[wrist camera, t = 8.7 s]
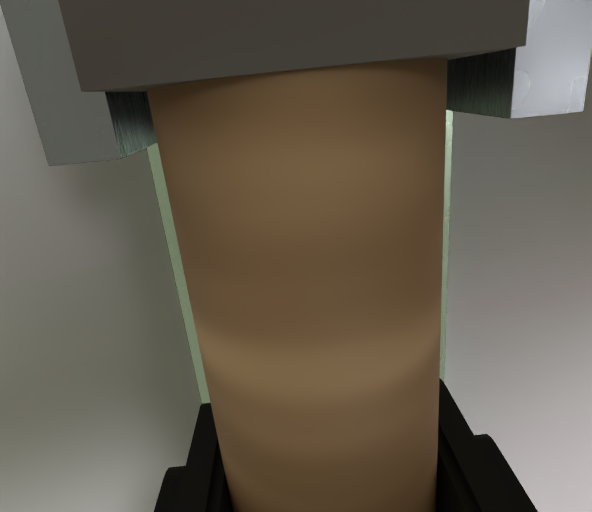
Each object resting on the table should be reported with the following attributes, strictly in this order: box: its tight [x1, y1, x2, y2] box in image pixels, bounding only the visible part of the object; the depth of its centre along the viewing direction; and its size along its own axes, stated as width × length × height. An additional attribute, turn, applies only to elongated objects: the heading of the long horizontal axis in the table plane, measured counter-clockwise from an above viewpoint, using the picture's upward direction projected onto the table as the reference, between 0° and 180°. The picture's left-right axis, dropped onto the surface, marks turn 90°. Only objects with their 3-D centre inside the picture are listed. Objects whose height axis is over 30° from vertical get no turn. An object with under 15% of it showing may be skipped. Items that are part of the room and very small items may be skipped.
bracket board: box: [0, 0, 592, 403], centre depth 12 cm, size 24×9×8 cm, turn 5°
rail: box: [58, 0, 530, 512], centre depth 9 cm, size 19×4×4 cm, turn 5°
